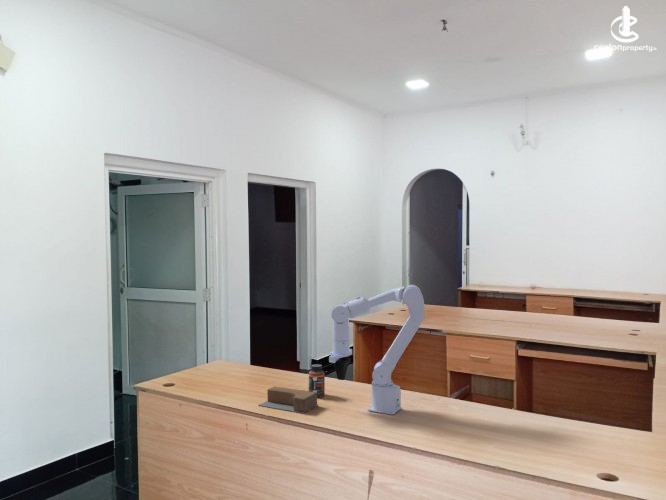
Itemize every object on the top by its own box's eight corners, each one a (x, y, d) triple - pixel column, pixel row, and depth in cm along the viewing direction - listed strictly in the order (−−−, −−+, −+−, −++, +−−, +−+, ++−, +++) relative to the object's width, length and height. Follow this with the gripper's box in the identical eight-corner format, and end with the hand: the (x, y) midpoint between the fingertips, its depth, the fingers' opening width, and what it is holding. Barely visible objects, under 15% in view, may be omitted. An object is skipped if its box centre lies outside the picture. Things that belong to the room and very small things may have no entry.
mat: (317, 405, 181) (317, 404, 181) (302, 413, 172) (302, 412, 172) (274, 398, 189) (274, 397, 189) (258, 405, 180) (258, 405, 180)
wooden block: (304, 399, 172) (259, 392, 180) (304, 412, 172) (259, 405, 180) (317, 392, 180) (273, 385, 188) (317, 404, 180) (273, 398, 188)
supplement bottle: (317, 398, 188) (317, 368, 188) (305, 396, 192) (305, 365, 192) (327, 395, 193) (327, 364, 193) (315, 392, 197) (315, 362, 197)
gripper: (339, 335, 186) (339, 373, 186) (320, 342, 173) (321, 383, 173) (357, 337, 183) (357, 375, 183) (339, 344, 170) (340, 385, 170)
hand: (341, 379), depth 178 cm, fingers closed
